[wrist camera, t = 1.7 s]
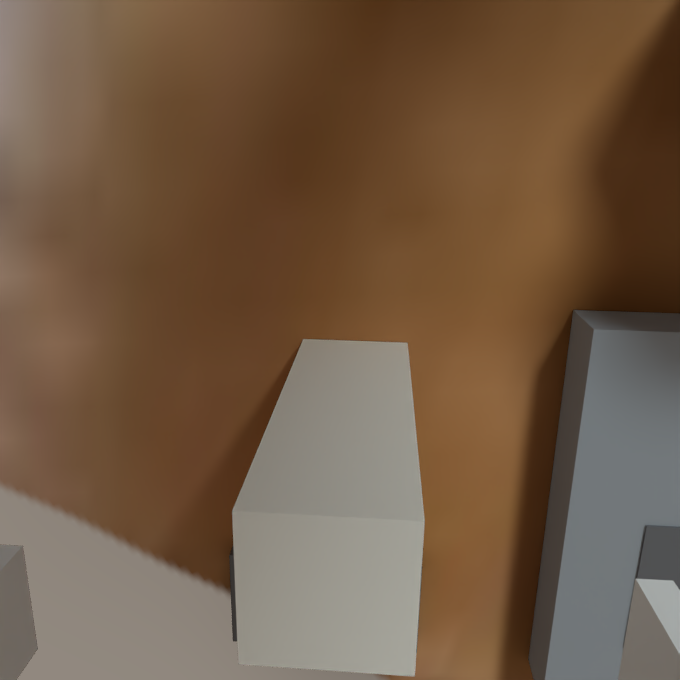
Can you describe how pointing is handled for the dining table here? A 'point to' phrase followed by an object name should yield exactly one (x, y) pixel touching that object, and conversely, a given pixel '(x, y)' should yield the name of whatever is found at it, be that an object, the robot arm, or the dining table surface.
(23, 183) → the dining table surface
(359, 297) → the dining table surface
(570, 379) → the outlet plate
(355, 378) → the light grey rectangular block
